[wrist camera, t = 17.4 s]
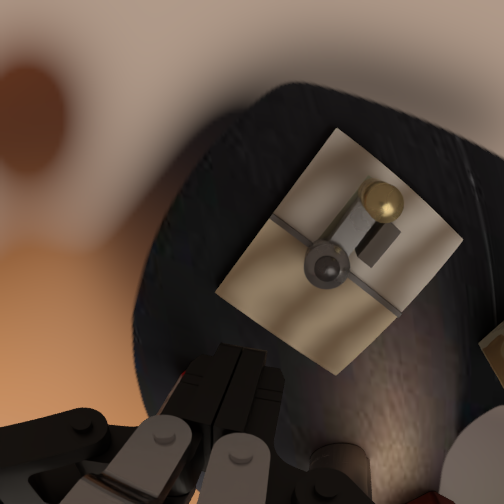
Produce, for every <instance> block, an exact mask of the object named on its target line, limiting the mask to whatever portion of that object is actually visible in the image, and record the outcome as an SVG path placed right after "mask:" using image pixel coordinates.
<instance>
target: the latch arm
mask: <svg viewBox="0 0 504 504" xmlns="http://www.w3.org/2000/svg"><path fill="white" fill-rule="evenodd" d="M403 208H404V199H403V196H402V194H401V192H400V191H399V189H397V188H396V187H395V186H393V185H391V184H389V183H386V182H384V181H382V180H380V179H377V178H370V179H367V180H365V181H364V182H363V183H362V184H361V185H360V187H359V189H358V196H357V198H356V199H355V201H354V202H353V203H352V205H351V206H350V208H349V209H348V210H347V212H346V213H345V215H344V216H343V217H342V219H341V220H340V221H339V223H338V224H337V226H336V227H335V228H334V230H333V231H332V232H331V234H330V235H329V236H328V238H321V239H318V240H316V241H314V242H313V243H312V244H310V246H309V247H308V248H307V250H306V253H305V259H304V273H305V276H306V278H307V280H308V281H309V282H310V283H311V284H312V285H313V286H315V287H317V288H320V289H333V288H336V287H338V286H340V285H341V284H343V283H344V282H345V281H346V279H347V278H348V276H349V273H350V261H349V255H350V254H351V253H352V252H353V250H354V249H355V248H356V246H357V245H358V244H359V242H360V241H361V240H362V238H363V237H364V236H365V234H366V233H367V232H368V230H369V229H370V228H371V226H372V225H373V224H374V222H375V221H378V222H380V223H390V222H393V221H395V220H396V219H397V218H399V216H400V215H401V213H402V211H403Z"/></svg>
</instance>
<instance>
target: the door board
mask: <svg viewBox="0 0 504 504" xmlns="http://www.w3.org/2000/svg"><path fill="white" fill-rule="evenodd" d="M370 178H377V179H380V180H382V181H384V182H386V183H389V184H391V185H393V186H395V187H396V188H397V189H399V191H400V192H401V194H402V196H403V199H404V208H403V211H402V213H401V215H400V216H399V218H397V219H396V220H395V221H393V222H390V223H380V222H378V221H375V222H374V224H373V225H372V226H371V228H370V229H369V230H368V232H367V233H366V234H365V236H364V237H363V238H362V240H361V241H360V242H359V244H358V245H357V246H356V248H355V249H354V250H353V252H352V253H351V254H350V255H349V261H350V273H349V276H348V278H347V279H346V281H345V282H344V283H343V284H341V285H340V286H338V287H336V288H333V289H320V288H317V287H315V286H313V285H312V284H311V283H310V282H309V281H308V280H307V278H306V276H305V273H304V259H305V253H306V250H307V248H308V247H309V246H310V244H312V243H313V242H314V241H316V240H318V239H321V238H328V236H329V235H330V234H331V232H332V231H333V230H334V228H335V227H336V226H337V224H338V223H339V221H340V220H341V219H342V217H343V216H344V215H345V213H346V212H347V210H348V209H349V208H350V206H351V205H352V203H353V202H354V201H355V199H356V198H357V196H358V189H359V187H360V185H361V184H362V183H363V182H364V181H365V180H367V179H370ZM462 241H463V239H462V238H461V237H460V236H459V235H458V234H457V233H456V232H455V231H454V230H453V229H452V228H451V227H450V226H449V225H448V224H447V223H446V222H445V221H444V220H443V219H442V218H441V217H440V216H439V215H438V214H437V213H436V212H435V211H434V210H433V209H432V208H431V207H430V206H429V205H428V204H427V203H426V202H425V201H424V200H423V199H422V198H421V197H420V196H418V195H417V194H416V193H415V192H414V191H413V190H412V189H411V188H410V187H409V186H407V185H406V184H405V183H404V182H403V181H402V180H401V179H400V178H398V177H397V176H396V175H395V174H394V173H393V172H391V171H390V170H389V169H388V168H387V167H386V166H384V165H383V164H382V163H381V162H380V161H378V160H377V159H376V158H375V157H374V156H372V155H371V154H370V153H369V152H367V151H366V150H365V149H364V148H362V147H361V146H360V145H359V144H357V143H356V142H355V141H353V140H352V139H351V138H350V137H348V136H347V135H346V134H344V133H343V132H342V131H340V130H339V129H338V128H336V129H335V130H334V132H333V133H332V135H331V136H330V137H329V139H328V140H327V141H326V143H325V144H324V145H323V147H322V148H321V149H320V151H319V152H318V153H317V155H316V156H315V157H314V159H313V160H312V161H311V163H310V164H309V165H308V167H307V168H306V169H305V171H304V172H303V173H302V175H301V176H300V178H299V179H298V180H297V182H296V183H295V184H294V186H293V187H292V188H291V190H290V191H289V192H288V194H287V195H286V196H285V198H284V199H283V200H282V202H281V203H280V205H279V206H278V207H277V209H276V210H275V211H274V213H273V214H272V215H271V217H270V218H269V219H268V221H267V222H266V223H265V225H264V226H263V228H262V229H261V230H260V232H259V233H258V234H257V236H256V237H255V238H254V240H253V241H252V242H251V244H250V245H249V246H248V248H247V249H246V251H245V252H244V253H243V255H242V256H241V257H240V259H239V260H238V261H237V263H236V264H235V266H234V267H233V268H232V270H231V271H230V272H229V274H228V275H227V276H226V278H225V279H224V281H223V282H222V283H221V285H220V286H219V287H218V289H217V290H216V292H215V293H216V294H218V295H219V296H220V297H222V298H223V299H224V300H226V301H227V302H229V303H230V304H231V305H233V306H234V307H236V308H237V309H238V310H240V311H241V312H243V313H244V314H245V315H247V316H248V317H250V318H251V319H253V320H254V321H255V322H257V323H258V324H260V325H261V326H263V327H264V328H265V329H267V330H268V331H270V332H271V333H273V334H274V335H276V336H277V337H278V338H280V339H281V340H283V341H284V342H286V343H287V344H289V345H290V346H292V347H293V348H295V349H296V350H298V351H299V352H301V353H302V354H304V355H305V356H307V357H308V358H310V359H311V360H313V361H314V362H316V363H317V364H319V365H320V366H322V367H323V368H325V369H326V370H328V371H329V372H331V373H333V374H334V375H337V374H338V373H339V372H341V371H342V370H343V369H344V368H345V367H346V366H347V365H348V364H349V363H351V362H352V361H353V360H354V359H355V358H356V357H357V356H358V355H359V354H360V353H361V352H362V351H363V350H364V349H365V348H366V347H368V346H369V345H370V344H371V343H372V342H373V341H374V340H375V339H376V338H377V337H378V336H379V335H380V334H381V333H382V332H383V331H384V330H385V329H386V328H387V327H388V326H389V325H390V324H391V323H392V322H393V321H394V320H395V319H396V317H398V318H399V317H400V316H401V315H402V313H401V312H402V311H403V310H404V309H405V308H406V307H407V306H408V305H409V304H410V303H411V301H412V300H413V299H414V298H415V297H416V296H417V295H418V294H419V293H420V291H421V290H422V289H423V288H424V287H425V286H426V285H427V284H428V282H429V281H430V280H431V279H432V278H433V277H434V275H435V274H436V273H437V272H438V271H439V269H440V268H441V267H442V266H443V265H444V263H445V262H446V261H447V260H448V259H449V257H450V256H451V255H452V254H453V252H454V251H455V250H456V249H457V247H458V246H459V245H460V243H461V242H462Z"/></svg>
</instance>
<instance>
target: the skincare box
mask: <svg viewBox="0 0 504 504" xmlns="http://www.w3.org/2000/svg"><path fill="white" fill-rule="evenodd" d="M478 344H479V346H480V348H481V350H482V351H483V353H484V355H485V356H486V358H487V360H488V361H489V363H490V365H491V367H492V368H493V370H494V372H495V374H496V375H497V377H498V379H499V381H500V382H501V384H502V386H503V388H504V321H503V322H502V323H501V324H499V325H498V326H497V327H496V328H495V329H494V330H493V331H492V332H490V333H489V334H488V335H487V336H486V337H485V338H484V339H483V340H481V341H480V342H479V343H478Z"/></svg>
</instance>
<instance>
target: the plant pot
mask: <svg viewBox="0 0 504 504" xmlns="http://www.w3.org/2000/svg"><path fill="white" fill-rule="evenodd" d="M406 504H455V503H454V502H453V501H451V500H449V499H448V498H446V497H444V496H442V495H440V494H438V493H436V492H435V491H431V492H428V493H426V494H424V495H423V496H421V497H419V498H417V499H415V500H413V501H410V502H408V503H406Z"/></svg>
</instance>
